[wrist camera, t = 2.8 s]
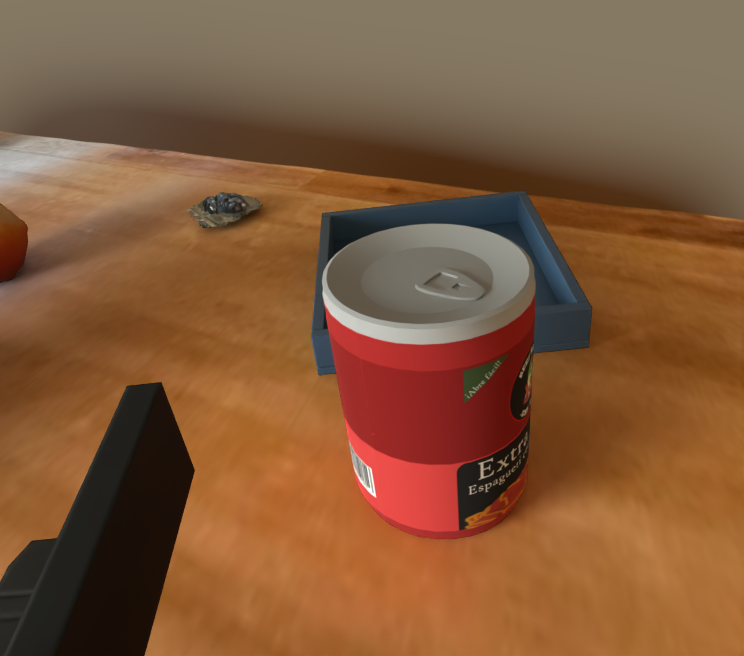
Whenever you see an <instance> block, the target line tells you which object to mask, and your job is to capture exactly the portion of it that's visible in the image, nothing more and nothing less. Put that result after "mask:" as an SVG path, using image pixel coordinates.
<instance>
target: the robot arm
mask: <svg viewBox="0 0 744 656" xmlns="http://www.w3.org/2000/svg"><path fill="white" fill-rule="evenodd" d="M194 471H195V470H194V467H193V464H192V462H191V459H190V456H189V454H188V451H187V448H186V446H185V443H184V441H183V438H182V435H181V433H180V430H179V427H178V425H177V422H176V420H175V417H174V414H173V412H172V409H171V406H170V404H169V401H168V399H167V396H166V393H165V391H164V388H163V385H162V383H161V382H159V383H149V384H140V385H131V386H127V387H126V389H125V392H124V394H123V396H122V398H121V400H120V402H119V405H118V407H117V409H116V411H115V413H114V416H113V418H112V420H111V422H110V424H109V427H108V429H107V431H106V433H105V435H104V438H103V440H102V442H101V444H100V446H99V448H98V451H97V453H96V455H95V457H94V459H93V462H92V464H91V466H90V468H89V470H88V473H87V475H86V477H85V479H84V481H83V483H82V486H81V488H80V490H79V492H78V494H77V497H76V499H75V501H74V503H73V505H72V508H71V510H70V512H69V514H68V516H67V519H66V521H65V523H64V525H63V527H62V529H61V532H60V534H59V536H58V538H55V539H45V540H35V541H31V542H30V543H29V544H28V545H27V547H26V548H25V549H24V550H23V551H22V552H21V553H20V554H19V555H18V556H17V557H16V558H15V560H14V561H13V562H12V563H11V564H10V565H9V566H8V568H7V570H6V572H5V574H4V576H3V578H2V580H1V582H0V656H144V655H145V652H146V648H147V644H148V640H149V637H150V633H151V629H152V626H153V622H154V618H155V615H156V611H157V607H158V604H159V600H160V596H161V593H162V589H163V585H164V582H165V578H166V574H167V571H168V567H169V563H170V560H171V556H172V552H173V549H174V545H175V541H176V538H177V534H178V530H179V527H180V523H181V519H182V516H183V512H184V508H185V505H186V501H187V497H188V494H189V490H190V486H191V482H192V479H193V475H194Z"/></svg>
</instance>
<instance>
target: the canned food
mask: <svg viewBox="0 0 744 656" xmlns="http://www.w3.org/2000/svg"><path fill="white" fill-rule="evenodd" d="M322 285H323V293H322V294H323V300H324V306H325V311H326V320H327V326H328V331H329V336H330V342H331V347H332V353H333V358H334V364H335V369H336V374H337V380H338V385H339V391H340V396H341V401H342V407H343V412H344V418H345V423H346V429H347V434H348V439H349V445H350V450H351V456H352V461H353V467H354V472H355V477H356V481H357V484H358V486H359V488H360V490H361V492H362V494H363V495H364V497H365V498H366V500H367V501H368V503H369V504H370V505H371V507H372V508H373V509H374V510H375V512H376V513H377V514H378V515H379V516H380V517H382V518H383V519H384V520H385V521H387V522H388V523H389V524H391V525H393V526H394V527H396V528H398V529H400V530H402V531H404V532H407V533H410V534H413V535H416V536H419V537H426V538H432V539H457V538H463V537H468V536H472V535H475V534H478V533H481V532H483V531H486V530H488V529H489V528H491V527H493V526H494V525H496V524H498V523H499V522H501V521H502V520H503V519H504V518H505V517H506V516H507V515H508V514H509V513H510V512H511V510H512V509H513V507H514V506H515V504H516V503H517V501H518V499H519V498H520V496H521V494H522V492H523V490H524V487H525V484H526V480H527V473H528V452H529V431H530V411H531V390H532V369H533V348H534V328H535V289H536V281H535V277H534V266H533V263H532V261H531V258H530V257H529V256H528V254H527V253H526V252H525V251H524V250H523V249H522V248H521V247H520V246H518V245H517V244H516V243H514V242H513V241H511V240H509V239H507V238H505V237H503V236H501V235H499V234H496V233H493V232H490V231H487V230H484V229H479V228H474V227H469V226H462V225H453V224H418V225H409V226H402V227H396V228H392V229H388V230H384V231H380V232H376V233H374V234H371V235H368V236H365V237H363V238H360V239H358V240H357V241H355V242H353V243H351V244H349V245H347V246H346V247H344V248H343V249H342V250H340V251H339V252H337V253H336V254H335V255H334V257H333V258H332V259H331V260H330V261H329V262H328V264H327V266H326V267H325V269H324V271H323V277H322Z"/></svg>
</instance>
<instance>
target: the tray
mask: <svg viewBox="0 0 744 656" xmlns="http://www.w3.org/2000/svg"><path fill="white" fill-rule="evenodd" d="M418 224H453V225H462V226H469V227H474V228H479V229H484V230H487V231H490V232H493V233H496V234H499V235H501V236H503V237H505V238H507V239H509V240H511V241H513V242H514V243H516V244H517V245H518V246H520V247H521V248H522V249H523V250H524V251H525V252H526V253H527V254H528V256H529V257H530V258H531V261H532V263H533V266H534V277H535V281H536V289H535V328H534V348H533V353H538V352H548V351H557V350H567V349H577V348H587V347H589V336H590V326H591V317H592V306H591V305H590V303H589V302H588V300H587V298H586V296H585V294H584V293H583V291H582V289H581V287H580V286H579V284H578V282H577V280H576V279H575V277H574V275H573V273H572V272H571V270H570V268H569V266H568V265H567V263H566V261H565V259H564V258H563V256H562V254H561V253H560V251H559V249H558V247H557V246H556V244H555V242H554V240H553V239H552V237H551V235H550V233H549V232H548V230H547V228H546V226H545V225H544V223H543V221H542V219H541V218H540V216H539V214H538V213H537V211H536V209H535V207H534V206H533V204H532V202H531V200H530V199H529V197H528V195H527V193H526V192H525V191H516V192H507V193H498V194H489V195H480V196H471V197H462V198H453V199H444V200H435V201H426V202H417V203H409V204H400V205H391V206H382V207H373V208H364V209H355V210H346V211H337V212H328V213H322V220H321V231H320V242H319V253H318V265H317V276H316V287H315V299H314V310H313V321H312V333H311V340H312V345H313V350H314V355H315V360H316V365H317V370H318V374H319V375H323V374H332V373H336V369H335V364H334V358H333V353H332V347H331V342H330V336H329V331H328V326H327V320H326V311H325V306H324V300H323V294H322V293H323V285H322V277H323V271H324V269H325V267H326V266H327V264H328V262H329V261H330V260H331V259H332V258H333V257H334V255H335V254H336V253H337V252H339V251H340V250H342V249H343V248H344V247H346V246H347V245H349V244H351V243H353V242H355V241H357V240H358V239H360V238H363V237H365V236H368V235H371V234H374V233H376V232H380V231H384V230H388V229H392V228H396V227H402V226H409V225H418Z"/></svg>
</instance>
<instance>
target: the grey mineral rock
mask: <svg viewBox="0 0 744 656" xmlns="http://www.w3.org/2000/svg"><path fill="white" fill-rule="evenodd" d="M262 206H263V205H260V202H259V201H258V200H257V199H256V198H254V199H253V198H252V197H251V198H250V197H248V196H241V195H238V194H236V193H225V192H221V193H219V194H218V195H216V196H215V197H213V196H212V197H207V198H206V199H205V200H204V201H202V202H200V203H199V204H197V205H193V207H192V208H190V209H189V210H188V212H189V213H191V215H192V216H194V217H195V218H197V217H198V218H197V219H194V220H196V221H198V220H199V222H200V223H199V224H200V226H203V228H207V227H208V228H211V227H213V226H214V227H215V226H216V227H219V226H222V227H223V226H225V225H227V223H228V221H231V222H234V221H238V220H239V219H240V218H241V217H242V216H243V215H247V214H248V213H249V212H250V211H251V210H257V209H258V208H260V207H262ZM192 216H191V217H192Z"/></svg>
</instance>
